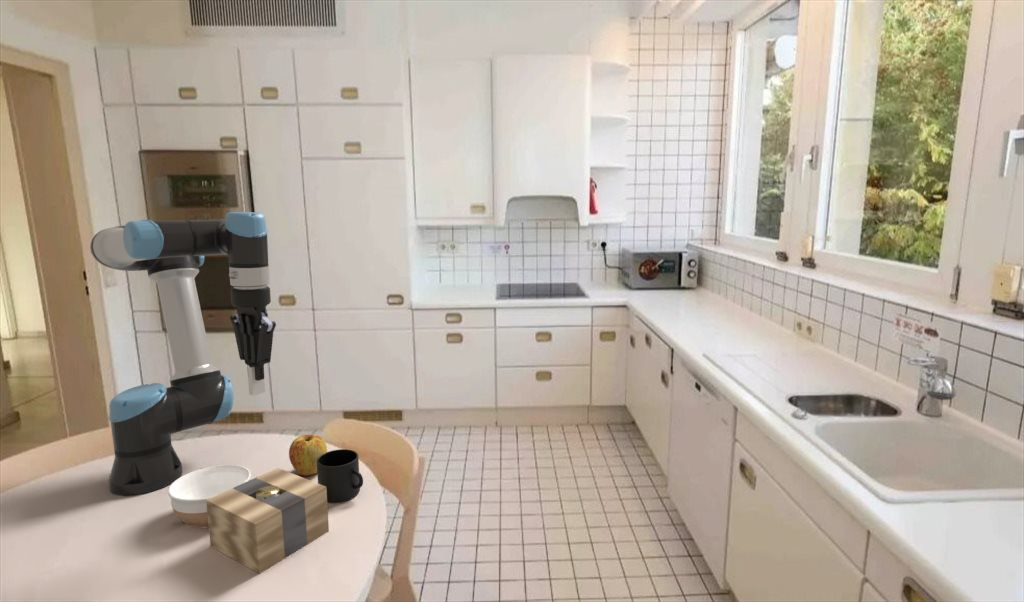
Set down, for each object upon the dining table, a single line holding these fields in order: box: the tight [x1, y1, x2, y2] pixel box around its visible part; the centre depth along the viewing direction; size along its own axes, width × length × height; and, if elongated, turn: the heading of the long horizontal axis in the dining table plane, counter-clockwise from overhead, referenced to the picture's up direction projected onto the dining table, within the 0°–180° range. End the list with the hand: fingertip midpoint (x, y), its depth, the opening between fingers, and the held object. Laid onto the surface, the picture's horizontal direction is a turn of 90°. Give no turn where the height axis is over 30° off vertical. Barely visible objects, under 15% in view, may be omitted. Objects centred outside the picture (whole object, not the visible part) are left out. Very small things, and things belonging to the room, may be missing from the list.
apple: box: [288, 434, 328, 477], centre depth 138 cm, size 9×9×10 cm
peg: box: [256, 486, 280, 502], centre depth 110 cm, size 4×4×9 cm
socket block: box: [206, 467, 330, 574], centre depth 110 cm, size 16×16×10 cm
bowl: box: [167, 464, 252, 529], centre depth 119 cm, size 16×16×8 cm
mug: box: [316, 448, 364, 504], centre depth 128 cm, size 9×12×9 cm
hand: (257, 393), depth 118 cm, fingers closed
